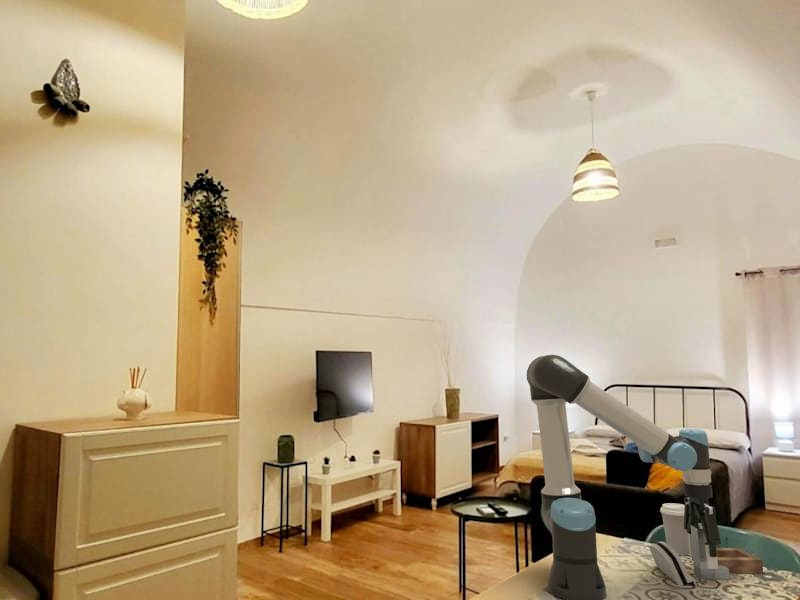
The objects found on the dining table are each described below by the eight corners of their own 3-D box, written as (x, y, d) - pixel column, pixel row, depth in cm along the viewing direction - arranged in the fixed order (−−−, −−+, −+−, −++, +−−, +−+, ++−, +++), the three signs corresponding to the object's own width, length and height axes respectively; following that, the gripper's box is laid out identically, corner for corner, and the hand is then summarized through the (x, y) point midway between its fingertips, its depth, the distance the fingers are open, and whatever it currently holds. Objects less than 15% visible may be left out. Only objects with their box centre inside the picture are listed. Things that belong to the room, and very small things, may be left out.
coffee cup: (665, 556, 183) (661, 508, 185) (660, 547, 192) (657, 502, 194) (697, 558, 180) (693, 509, 183) (691, 549, 190) (688, 503, 192)
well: (711, 573, 167) (710, 560, 167) (692, 560, 178) (691, 548, 179) (763, 573, 166) (762, 559, 167) (740, 560, 178) (739, 547, 179)
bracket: (701, 579, 162) (697, 528, 164) (694, 575, 166) (690, 525, 168) (729, 579, 162) (725, 528, 163) (722, 574, 165) (717, 525, 167)
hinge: (697, 585, 157) (682, 550, 159) (681, 591, 157) (666, 556, 159) (673, 566, 174) (659, 534, 175) (658, 571, 174) (645, 539, 175)
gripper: (730, 489, 156) (738, 575, 153) (691, 476, 178) (698, 551, 175) (703, 490, 157) (710, 575, 153) (667, 476, 178) (673, 551, 175)
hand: (703, 562), depth 164 cm, fingers open, 9 cm apart
